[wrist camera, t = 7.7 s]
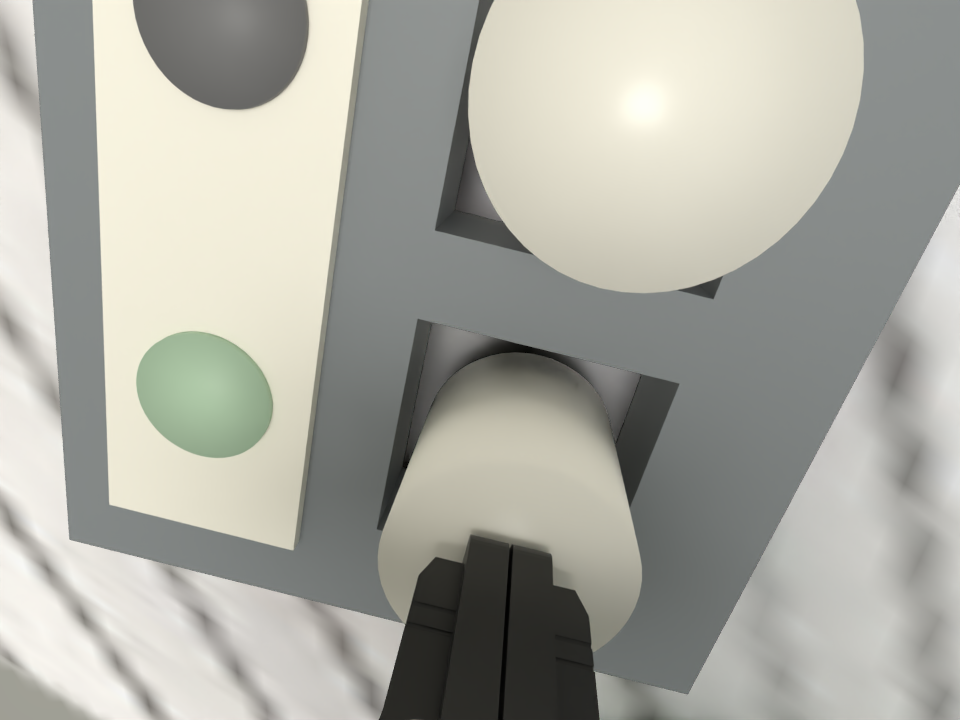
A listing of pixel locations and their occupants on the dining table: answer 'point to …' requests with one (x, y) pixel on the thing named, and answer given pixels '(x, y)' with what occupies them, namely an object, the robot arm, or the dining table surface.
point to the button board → (535, 323)
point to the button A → (518, 486)
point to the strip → (219, 248)
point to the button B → (660, 129)
